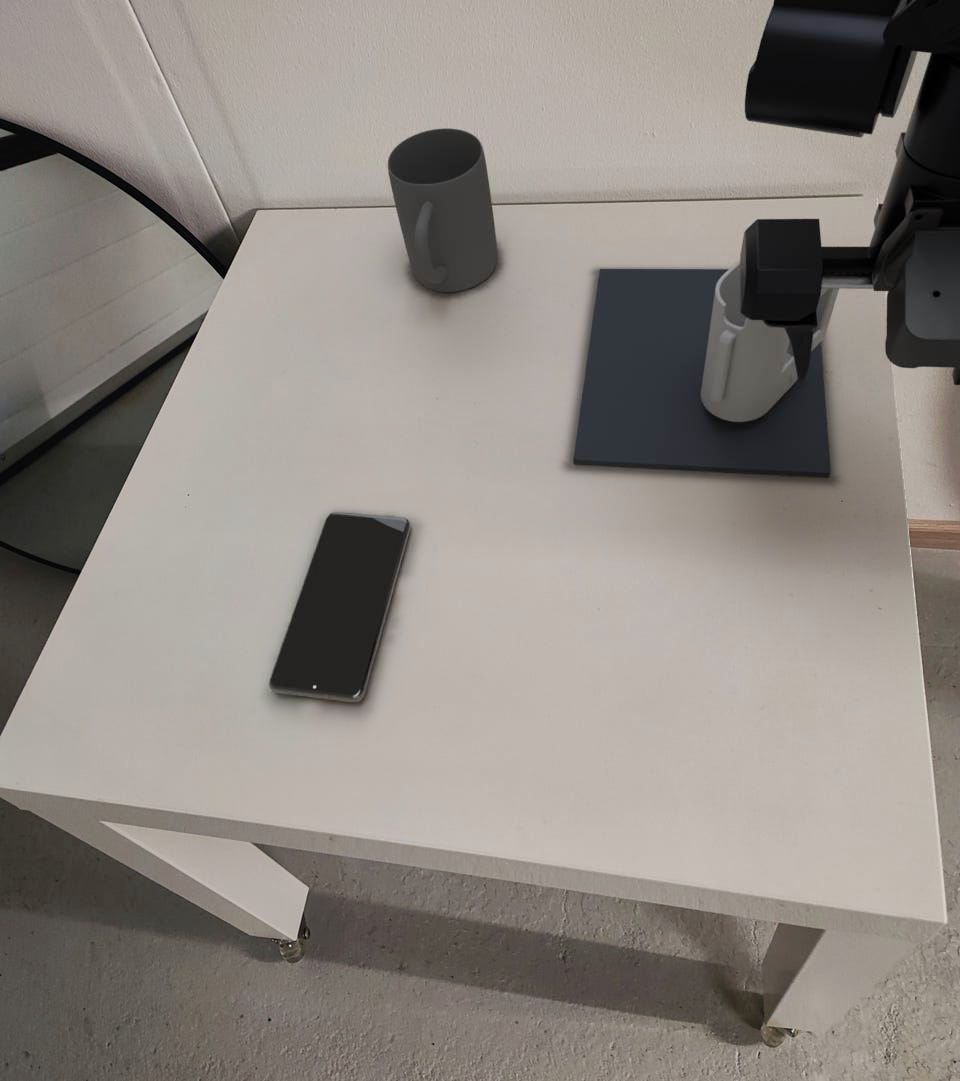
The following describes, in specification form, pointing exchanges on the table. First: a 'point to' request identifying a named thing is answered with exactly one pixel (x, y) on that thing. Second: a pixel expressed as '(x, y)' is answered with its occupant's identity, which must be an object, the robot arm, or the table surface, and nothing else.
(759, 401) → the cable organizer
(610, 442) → the mat
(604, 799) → the table surface
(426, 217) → the mug
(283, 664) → the smartphone
